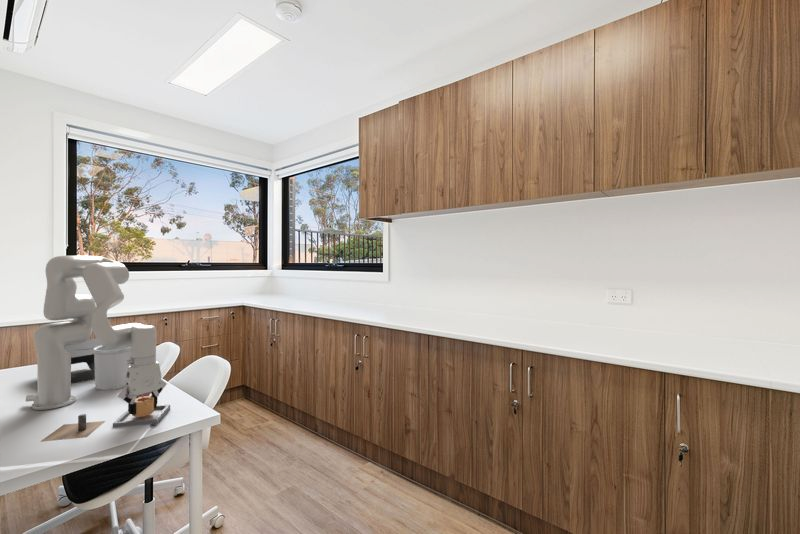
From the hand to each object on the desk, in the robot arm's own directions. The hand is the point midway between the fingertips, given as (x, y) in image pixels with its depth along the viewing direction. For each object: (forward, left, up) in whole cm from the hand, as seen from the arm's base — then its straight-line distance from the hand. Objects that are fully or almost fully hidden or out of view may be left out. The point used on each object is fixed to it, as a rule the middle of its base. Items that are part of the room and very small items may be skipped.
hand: (143, 410), depth 132 cm
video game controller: (-9, +23, -3) cm, 25 cm away
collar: (0, 0, -1) cm, 1 cm away
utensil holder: (-26, +43, -3) cm, 50 cm away
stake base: (-17, -7, -3) cm, 19 cm away
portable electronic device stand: (-47, +62, -3) cm, 78 cm away
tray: (0, 0, -3) cm, 3 cm away
